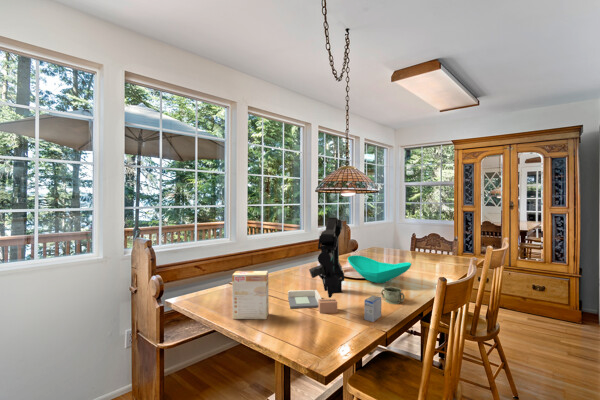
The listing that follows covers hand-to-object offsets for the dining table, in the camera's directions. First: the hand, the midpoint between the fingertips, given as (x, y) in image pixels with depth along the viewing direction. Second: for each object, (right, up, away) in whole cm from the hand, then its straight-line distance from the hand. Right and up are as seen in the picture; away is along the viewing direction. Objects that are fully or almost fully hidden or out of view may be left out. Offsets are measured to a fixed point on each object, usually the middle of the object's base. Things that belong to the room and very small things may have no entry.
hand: (327, 294), depth 143 cm
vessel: (+34, -8, +13) cm, 37 cm away
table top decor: (+35, -7, +47) cm, 59 cm away
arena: (-11, -8, +11) cm, 17 cm away
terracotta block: (0, -8, 0) cm, 8 cm away
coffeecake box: (-35, -8, -6) cm, 36 cm away
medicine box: (+19, -8, -8) cm, 22 cm away
